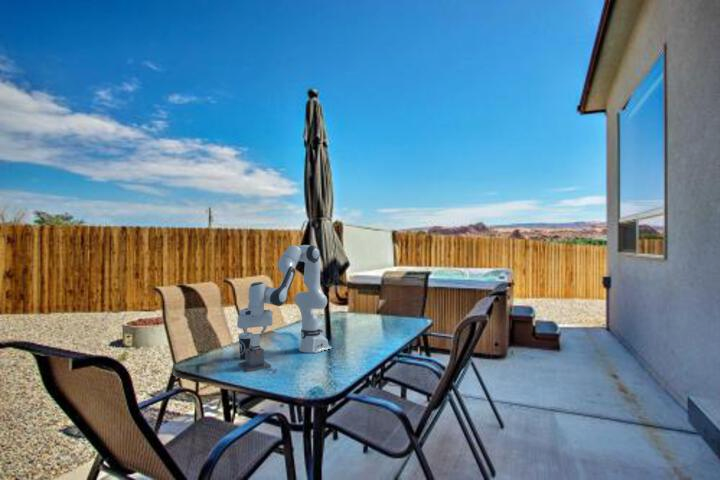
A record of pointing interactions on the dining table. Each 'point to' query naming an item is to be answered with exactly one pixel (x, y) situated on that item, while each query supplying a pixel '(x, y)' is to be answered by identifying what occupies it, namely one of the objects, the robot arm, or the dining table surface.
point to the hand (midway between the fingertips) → (254, 334)
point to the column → (254, 342)
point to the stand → (254, 360)
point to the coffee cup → (244, 343)
